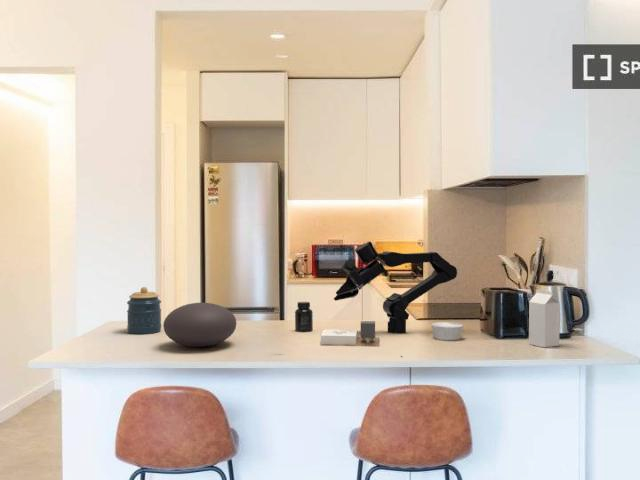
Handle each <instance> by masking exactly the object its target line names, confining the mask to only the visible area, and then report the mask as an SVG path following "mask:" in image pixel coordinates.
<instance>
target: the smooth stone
mask: <svg viewBox="0 0 640 480" xmlns="http://www.w3.org/2000/svg"><path fill="white" fill-rule="evenodd" d="M162 326H163V330H164V331H163V332H164V333H165V335H166V336H167V337H168V338H169V339H170V340H171V341H173V342H175V343H177V344H179V345H182V346H185V347H193V348H199V347H200V348H203V347H210V346H214V345H218V344H220V343H222V342H224V341H225V340H227V339H229V338H230V337H231V336H232V335H233V334H234V332H235V330H236V329H237V328H236V327H237V319H236V316H235V315H234V313H232V312H231V310H229V309H227V308H226V307H225V306H223V305H220V304H215V303H213V302H193V303H187V304H184V305H181V306H179V307H176V308H175V309H173V310H172V311H170V312H169V313H168V314H167V316H166V317H165V319H164V321H163V324H162Z"/></svg>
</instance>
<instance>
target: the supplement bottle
mask: <svg viewBox="0 0 640 480" xmlns="http://www.w3.org/2000/svg"><path fill="white" fill-rule="evenodd" d="M296 307H297V309H295V311H294V313H295V314H294V328H295V329H294V331H295V332H297V333H310V332H313V329H314V328H313V327H314V326H313V325H314V323H313V322H314V319H313V317H314V315H313V313H314V312H313V309H311V302H309V301H298V302H297V306H296Z"/></svg>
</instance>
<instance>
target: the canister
mask: <svg viewBox="0 0 640 480" xmlns="http://www.w3.org/2000/svg"><path fill="white" fill-rule="evenodd" d="M128 297H129V300H128V301H126V304H127V305H128V307H127V308H128V309H127V310H126V312H127V325H126V327H127V333H129V334H131V335H132V334H133V335H150V334H156V333H159V332H161V331H162V309H161V303H162V301H161V300H160V299H159V297H160V295H159V294H158V293H156V292H154V291H148V288H147V287H146V286H143V287H142V286H141V288H140V291H137V292H132V294H130V295H129V296H128Z"/></svg>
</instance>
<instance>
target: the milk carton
mask: <svg viewBox="0 0 640 480" xmlns="http://www.w3.org/2000/svg"><path fill="white" fill-rule="evenodd" d="M535 291H536V292H535V294H534V295H533V296H532V298H531V299H530V300H529V302H528V315H529V316H528V344H529V345H530V346H531V345H532V346H536V347H541V348H550V347H552V348H553V347H558V346H560V315H561V314H560V309H561V307H560V305H561V304H560V302H559V300H558V299H557V298H556V297H555V296H554V292H553V291H549V290H548V291H547V290H543V289H542V290H541V289H536V290H535Z"/></svg>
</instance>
